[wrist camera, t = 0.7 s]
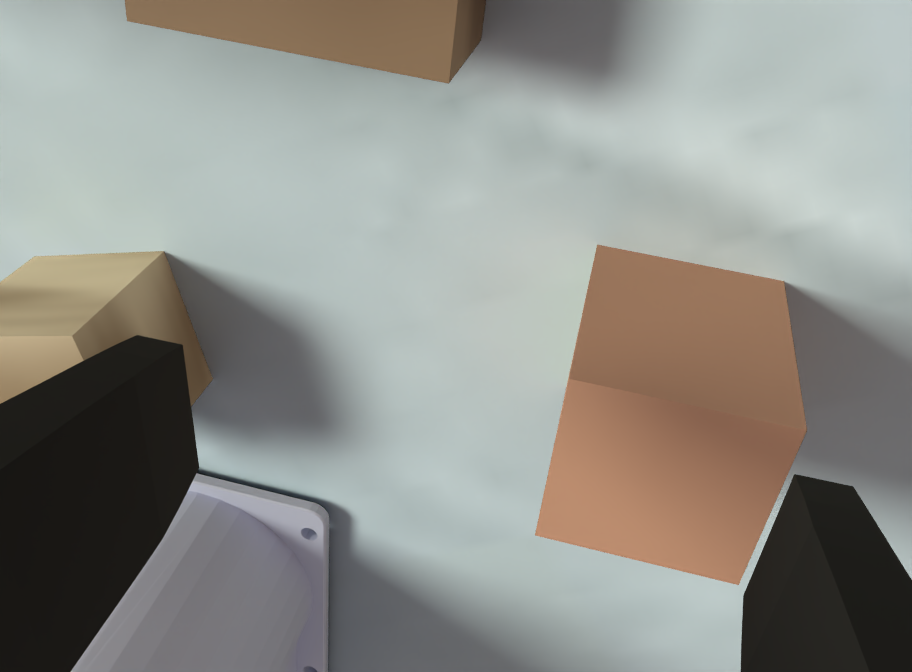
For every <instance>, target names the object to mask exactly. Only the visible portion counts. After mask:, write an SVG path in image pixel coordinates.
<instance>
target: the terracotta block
mask: <svg viewBox="0 0 912 672" xmlns="http://www.w3.org/2000/svg"><path fill="white" fill-rule="evenodd" d="M806 432H807V427H806V420H805V414H804V407H803V401H802V395H801V388H800V382H799V375H798V369H797V362H796V356H795V349H794V343H793V336H792V330H791V323H790V317H789V311H788V304H787V298H786V291H785V285H784V281H780V280H775V279H770V278H764V277H759V276H754V275H749V274H744V273H739V272H734V271H729V270H724V269H719V268H713V267H708V266H703V265H698V264H693V263H688V262H683V261H678V260H673V259H668V258H662V257H657V256H652V255H647V254H642V253H637V252H632V251H627V250H622V249H617V248H611V247H606V246H601V245H597V248H596V253H595V258H594V262H593V267H592V272H591V276H590V281H589V285H588V290H587V295H586V299H585V304H584V309H583V313H582V318H581V322H580V327H579V332H578V336H577V341H576V346H575V350H574V355H573V360H572V364H571V369H570V373H569V378H568V383H567V387H566V392H565V397H564V401H563V406H562V411H561V416H560V420H559V425H558V430H557V434H556V439H555V444H554V448H553V453H552V458H551V463H550V467H549V472H548V477H547V481H546V486H545V491H544V495H543V500H542V505H541V510H540V514H539V519H538V524H537V528H536V533H535V535H536V536H540V537H544V538H549V539H553V540H557V541H561V542H565V543H569V544H573V545H577V546H581V547H585V548H589V549H594V550H598V551H602V552H606V553H610V554H614V555H618V556H622V557H626V558H630V559H634V560H639V561H643V562H647V563H651V564H655V565H659V566H663V567H667V568H671V569H675V570H679V571H684V572H688V573H692V574H696V575H700V576H704V577H708V578H712V579H716V580H720V581H724V582H729V583H733V584H737V585H739V583H740V580H741V578H742V576H743V574H744V571H745V569H746V567H747V565H748V562H749V560H750V558H751V556H752V553H753V551H754V549H755V547H756V544H757V542H758V540H759V538H760V535H761V533H762V531H763V529H764V526H765V524H766V522H767V520H768V517H769V515H770V513H771V511H772V508H773V506H774V504H775V502H776V499H777V497H778V495H779V493H780V490H781V488H782V486H783V484H784V481H785V479H786V477H787V475H788V472H789V470H790V468H791V466H792V463H793V461H794V459H795V457H796V454H797V452H798V450H799V448H800V445H801V443H802V441H803V438H804V436H805V434H806Z"/></svg>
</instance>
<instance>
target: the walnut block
mask: <svg viewBox="0 0 912 672" xmlns="http://www.w3.org/2000/svg"><path fill="white" fill-rule="evenodd" d="M485 5H486V0H125V6H126V15H127V21H130V22H135V23H140V24H145V25H150V26H156V27H161V28H166V29H171V30H176V31H181V32H187V33H192V34H197V35H202V36H207V37H212V38H217V39H223V40H228V41H233V42H238V43H243V44H248V45H253V46H259V47H264V48H269V49H274V50H279V51H284V52H289V53H295V54H300V55H305V56H310V57H315V58H320V59H326V60H331V61H336V62H341V63H346V64H351V65H356V66H362V67H367V68H372V69H377V70H382V71H387V72H392V73H398V74H403V75H408V76H413V77H418V78H423V79H429V80H434V81H439V82H444V83H449V82H450V81H451V80H452V78H453V77H454V76H455V74H456V73H457V72H458V70H459V69H460V68H461V66H462V65H463V64H464V62H465V61H466V60H467V58H468V57H469V56H470V54H471V53H472V52H473V50H474V49H475V48H476V46H477V45H478V44H479V42H480V41H481V36H482V28H483V21H484V13H485Z"/></svg>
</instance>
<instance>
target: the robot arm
mask: <svg viewBox="0 0 912 672" xmlns="http://www.w3.org/2000/svg"><path fill="white" fill-rule="evenodd" d="M198 469H199V463H198V456H197V448H196V441H195V433H194V426H193V418H192V410H191V403H190V395H189V388H188V380H187V372H186V365H185V357H184V350H183V345H182V344H177V343H173V342H168V341H163V340H159V339H154V338H149V337H144V336H140V335H136V336H134V337H131V338H129V339H127V340H125V341H122V342H120V343H118V344H116V345H114V346H112V347H110V348H108V349H106V350H104V351H102V352H100V353H98V354H96V355H94V356H92V357H90V358H88V359H86V360H84V361H82V362H80V363H78V364H76V365H74V366H72V367H70V368H69V369H67V370H65V371H63V372H61V373H59V374H57V375H55V376H53V377H51V378H49V379H47V380H45V381H44V382H42V383H40V384H38V385H36V386H34V387H32V388H30V389H28V390H26V391H24V392H22V393H20V394H18V395H16V396H14V397H12V398H10V399H8V400H7V401H5V402H3V403H1V404H0V672H328V605H329V515H328V513H327V511H326V510H325V509H324V508H323V507H322V506H320V505H319V504H316V503H313V502H309V501H305V500H301V499H297V498H293V497H289V496H285V495H281V494H277V493H273V492H269V491H265V490H261V489H257V488H253V487H249V486H245V485H241V484H237V483H233V482H229V481H225V480H221V479H217V478H213V477H209V476H205V475H201V474H197V471H198ZM741 672H912V580H911V578H910V576H909V575H908V573H907V572H906V570H905V569H904V567H903V565H902V564H901V562H900V561H899V559H898V557H897V556H896V554H895V553H894V551H893V549H892V548H891V546H890V545H889V543H888V541H887V540H886V538H885V536H884V535H883V533H882V532H881V530H880V528H879V527H878V525H877V524H876V522H875V520H874V519H873V517H872V516H871V514H870V512H869V511H868V509H867V508H866V506H865V504H864V503H863V501H862V500H861V498H860V497H859V495H858V494H857V492H856V490H855V489H854V487H853V486H848V485H843V484H839V483H834V482H829V481H824V480H820V479H815V478H810V477H806V476H801V475H796V474H795V475H794V477H793V479H792V482H791V484H790V486H789V489H788V491H787V494H786V496H785V498H784V501H783V503H782V505H781V508H780V510H779V513H778V515H777V517H776V520H775V522H774V524H773V527H772V529H771V531H770V534H769V536H768V539H767V541H766V543H765V546H764V548H763V550H762V553H761V555H760V558H759V560H758V562H757V565H756V567H755V569H754V572H753V574H752V577H751V579H750V581H749V584H748V586H747V588H746V591H745V593H744V596H743V619H742V643H741Z"/></svg>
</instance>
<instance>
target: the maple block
mask: <svg viewBox="0 0 912 672" xmlns="http://www.w3.org/2000/svg"><path fill="white" fill-rule="evenodd" d="M136 335H140V336H144V337H149V338H154V339H159V340H163V341H168V342H173V343H177V344H182V345H183V350H184V357H185V365H186V372H187V380H188V388H189V395H190V403H191V406H192V405H193V404H194V403H195V401H196V400H197V399H198V397H199V396H200V395H201V394H202V392H203V391H204V390H205V389H206V387H207V386H208V385H209V383H210V382H211V381H212V380H213V378H212V376H211V373H210V370H209V368H208V365H207V362H206V360H205V357H204V355H203V352H202V349H201V347H200V344H199V342H198V339H197V336H196V334H195V331H194V329H193V326H192V323H191V321H190V318H189V315H188V313H187V310H186V308H185V305H184V302H183V300H182V297H181V295H180V292H179V289H178V287H177V284H176V282H175V279H174V276H173V274H172V271H171V269H170V266H169V263H168V261H167V258H166V255H165V253H164V251H156V252H132V253H108V254H83V255H59V256H35V257H33V258H32V259H30V260H29V261H28V262H26V263H25V264H24V265H22V266H21V267H20V268H18V269H17V270H16V271H14V272H13V273H12V274H10V275H9V276H8V277H6V278H5V279H4V280H2V281H1V282H0V404H1V403H3V402H5V401H7V400H8V399H10V398H12V397H14V396H16V395H18V394H20V393H22V392H24V391H26V390H28V389H30V388H32V387H34V386H36V385H38V384H40V383H42V382H44V381H45V380H47V379H49V378H51V377H53V376H55V375H57V374H59V373H61V372H63V371H65V370H67V369H69V368H70V367H72V366H74V365H76V364H78V363H80V362H82V361H84V360H86V359H88V358H90V357H92V356H94V355H96V354H98V353H100V352H102V351H104V350H106V349H108V348H110V347H112V346H114V345H116V344H118V343H120V342H122V341H125V340H127V339H129V338H131V337H134V336H136Z"/></svg>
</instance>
